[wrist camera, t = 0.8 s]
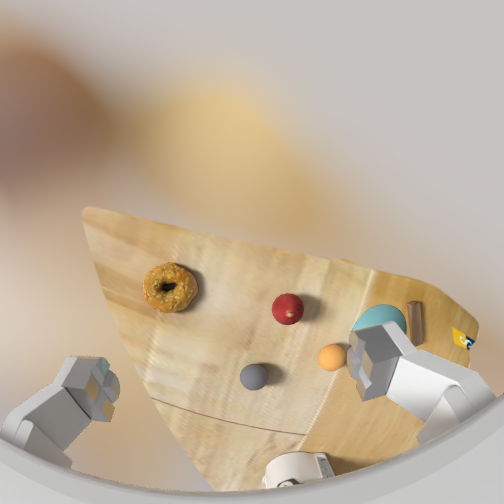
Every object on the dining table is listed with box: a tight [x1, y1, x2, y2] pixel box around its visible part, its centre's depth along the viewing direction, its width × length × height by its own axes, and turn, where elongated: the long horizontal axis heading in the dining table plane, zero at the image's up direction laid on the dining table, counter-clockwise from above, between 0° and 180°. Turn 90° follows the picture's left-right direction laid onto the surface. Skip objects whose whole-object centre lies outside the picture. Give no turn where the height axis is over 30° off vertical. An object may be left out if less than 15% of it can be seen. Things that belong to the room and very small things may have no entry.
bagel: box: [143, 262, 198, 313], centre depth 51 cm, size 10×11×5 cm
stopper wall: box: [407, 301, 423, 346], centre depth 51 cm, size 2×10×2 cm, turn 14°
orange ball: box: [318, 344, 345, 371], centre depth 50 cm, size 6×6×6 cm
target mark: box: [352, 305, 406, 335], centre depth 52 cm, size 14×14×1 cm
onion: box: [272, 293, 304, 325], centre depth 49 cm, size 6×6×8 cm
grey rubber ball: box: [240, 364, 268, 390], centre depth 50 cm, size 6×6×6 cm
